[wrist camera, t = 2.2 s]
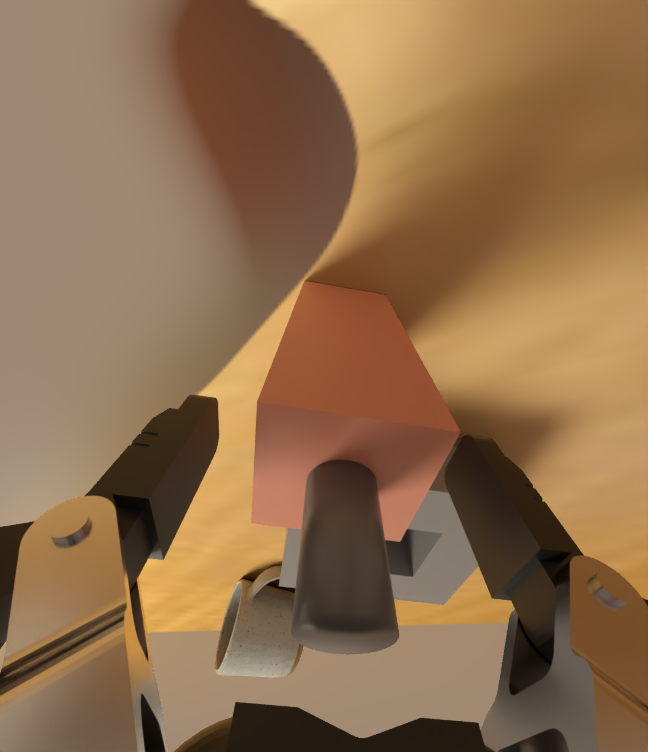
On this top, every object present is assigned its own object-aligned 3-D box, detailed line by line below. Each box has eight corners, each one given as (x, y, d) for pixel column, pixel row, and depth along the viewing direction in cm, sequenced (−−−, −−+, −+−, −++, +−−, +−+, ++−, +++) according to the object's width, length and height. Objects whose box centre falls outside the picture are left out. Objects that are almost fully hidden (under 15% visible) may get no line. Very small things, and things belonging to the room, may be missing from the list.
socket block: (305, 415, 20) (298, 472, 16) (493, 443, 21) (533, 504, 17) (287, 526, 28) (278, 586, 23) (427, 544, 28) (443, 604, 24)
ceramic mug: (290, 608, 37) (281, 694, 31) (229, 594, 36) (205, 682, 29) (323, 571, 32) (320, 664, 26) (253, 553, 31) (232, 648, 24)
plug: (304, 280, 15) (199, 549, 3) (385, 294, 16) (547, 589, 4) (295, 353, 18) (214, 664, 6) (366, 365, 18) (427, 685, 6)
